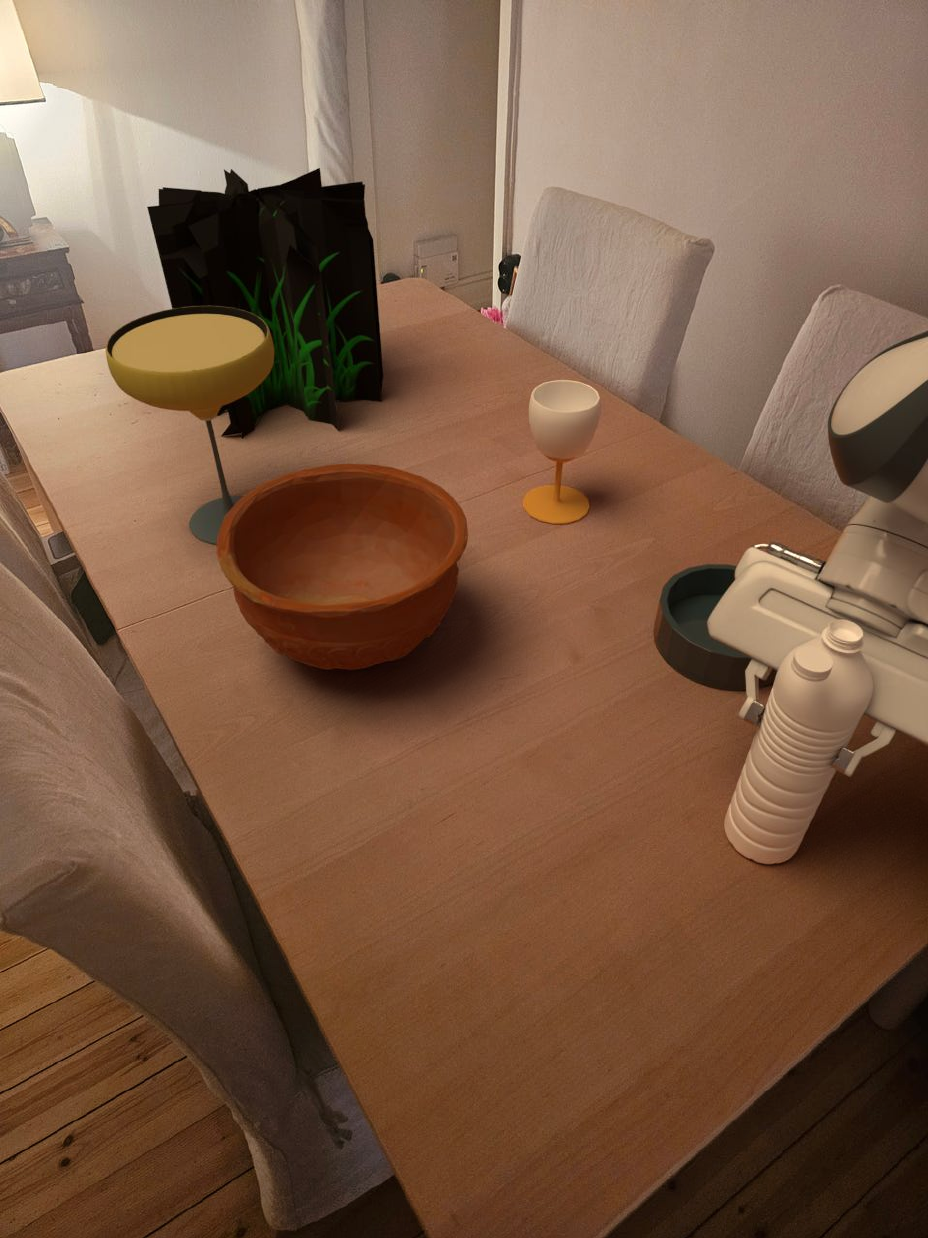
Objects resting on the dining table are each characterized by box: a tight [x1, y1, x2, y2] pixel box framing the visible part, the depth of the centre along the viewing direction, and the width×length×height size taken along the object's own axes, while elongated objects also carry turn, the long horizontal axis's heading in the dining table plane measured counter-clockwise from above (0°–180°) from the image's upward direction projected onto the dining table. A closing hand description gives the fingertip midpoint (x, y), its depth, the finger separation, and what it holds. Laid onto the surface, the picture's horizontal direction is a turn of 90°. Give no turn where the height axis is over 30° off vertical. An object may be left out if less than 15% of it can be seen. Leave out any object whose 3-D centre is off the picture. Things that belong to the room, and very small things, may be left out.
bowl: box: [216, 463, 469, 671], centre depth 87 cm, size 25×25×15 cm
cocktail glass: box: [105, 306, 274, 545], centre depth 100 cm, size 18×18×25 cm
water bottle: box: [723, 620, 873, 865], centre depth 64 cm, size 9×6×25 cm
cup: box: [521, 379, 602, 525], centre depth 105 cm, size 9×9×16 cm
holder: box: [653, 563, 778, 692], centre depth 90 cm, size 15×15×5 cm
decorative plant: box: [146, 167, 384, 440], centre depth 123 cm, size 29×30×30 cm
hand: (793, 746), depth 63 cm, fingers closed on water bottle, 6 cm apart
